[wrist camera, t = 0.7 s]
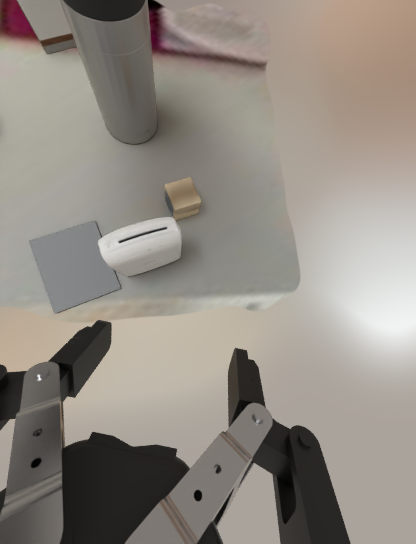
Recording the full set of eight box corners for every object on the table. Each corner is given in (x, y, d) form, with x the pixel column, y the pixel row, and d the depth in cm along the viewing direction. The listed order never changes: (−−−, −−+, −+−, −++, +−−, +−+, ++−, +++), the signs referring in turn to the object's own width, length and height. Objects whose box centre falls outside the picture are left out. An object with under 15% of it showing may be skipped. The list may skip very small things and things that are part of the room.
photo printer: (124, 280, 35) (98, 267, 23) (115, 256, 36) (86, 230, 23) (183, 260, 37) (189, 238, 25) (175, 237, 38) (176, 204, 26)
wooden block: (164, 198, 38) (163, 185, 34) (188, 191, 39) (190, 176, 35) (173, 221, 38) (173, 210, 34) (198, 213, 39) (201, 201, 35)
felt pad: (30, 241, 34) (28, 240, 33) (95, 221, 36) (94, 220, 35) (55, 313, 33) (54, 313, 32) (121, 288, 35) (120, 288, 34)
